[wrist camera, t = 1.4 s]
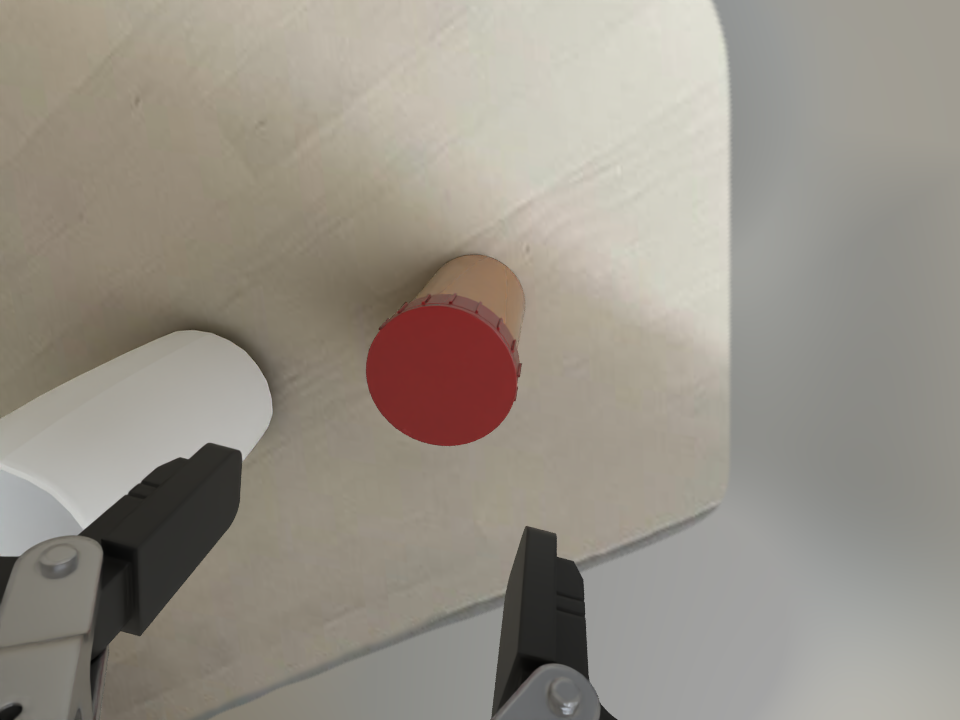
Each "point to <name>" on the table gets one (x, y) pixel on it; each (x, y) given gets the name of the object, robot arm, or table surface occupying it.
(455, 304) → the jar lid
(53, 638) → the robot arm
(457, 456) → the table surface
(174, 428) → the cup
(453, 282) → the jam jar
